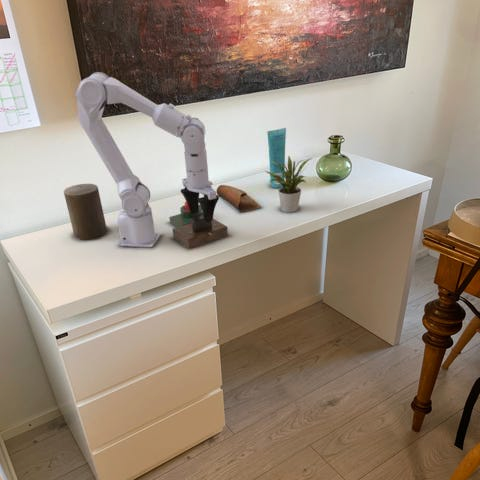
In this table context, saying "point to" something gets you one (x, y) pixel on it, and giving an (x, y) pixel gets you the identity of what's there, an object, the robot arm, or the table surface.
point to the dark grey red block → (200, 224)
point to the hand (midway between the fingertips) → (201, 217)
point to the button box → (184, 217)
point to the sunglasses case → (237, 198)
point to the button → (186, 206)
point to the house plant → (289, 186)
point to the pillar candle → (85, 211)
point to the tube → (276, 153)
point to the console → (199, 234)
